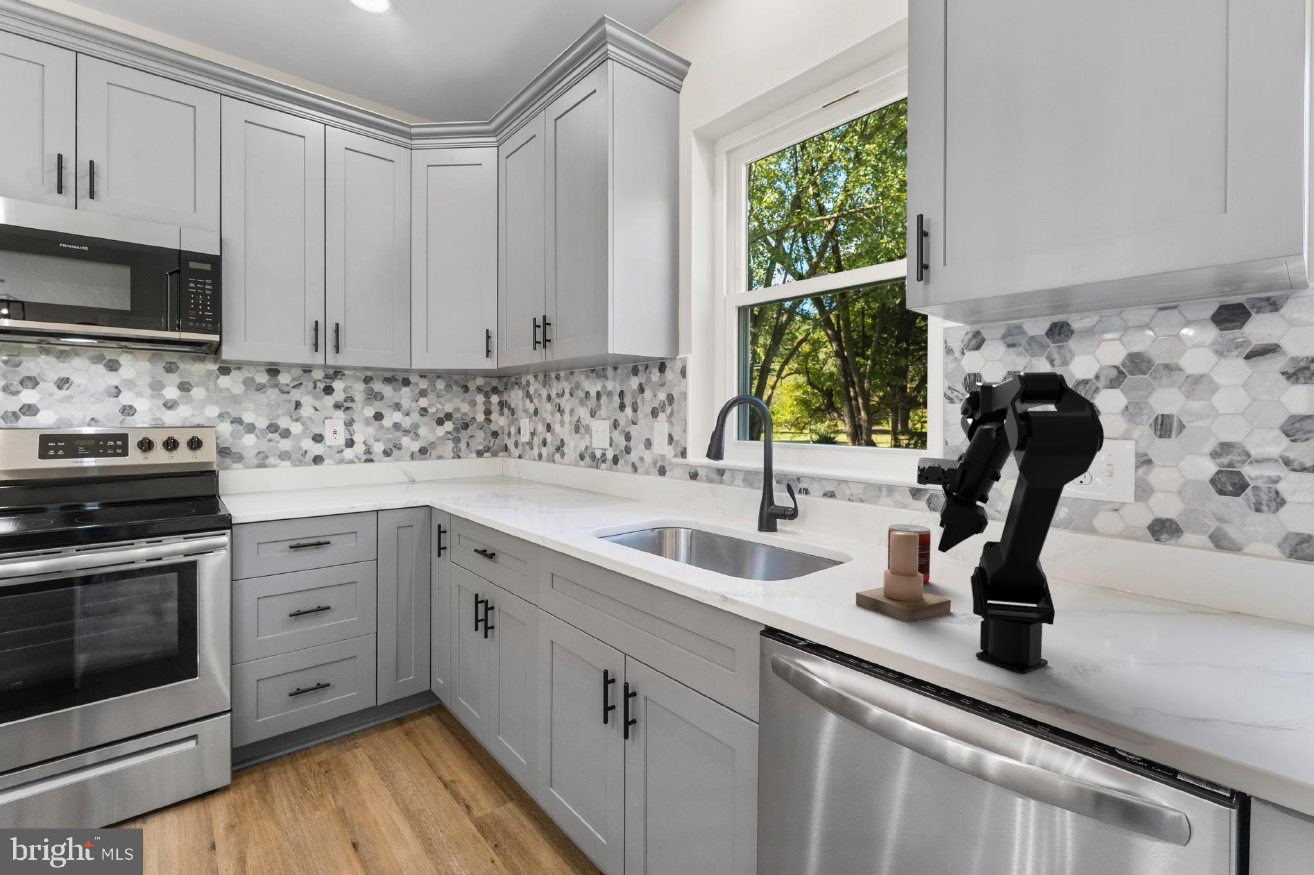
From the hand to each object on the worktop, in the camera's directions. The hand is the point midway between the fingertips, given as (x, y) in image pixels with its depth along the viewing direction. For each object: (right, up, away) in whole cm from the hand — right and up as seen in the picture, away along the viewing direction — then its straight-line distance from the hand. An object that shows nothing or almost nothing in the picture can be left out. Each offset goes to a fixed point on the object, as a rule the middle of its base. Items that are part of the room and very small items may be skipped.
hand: (941, 538), depth 102 cm
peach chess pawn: (-5, -11, +4) cm, 13 cm away
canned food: (+4, -13, +22) cm, 26 cm away
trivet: (-5, -13, +4) cm, 14 cm away
